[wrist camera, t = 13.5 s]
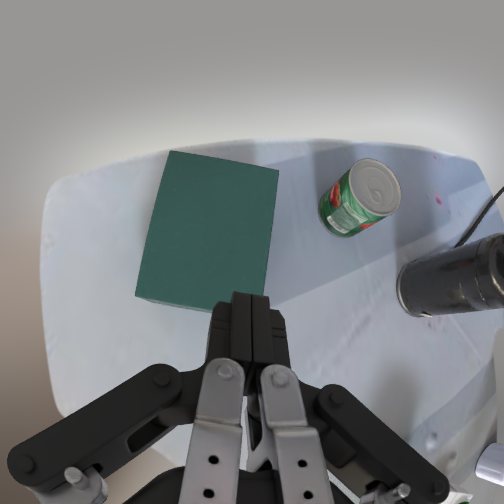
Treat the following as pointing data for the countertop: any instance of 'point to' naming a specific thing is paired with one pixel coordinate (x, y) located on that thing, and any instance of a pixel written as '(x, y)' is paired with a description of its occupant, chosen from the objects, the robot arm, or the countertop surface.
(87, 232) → the countertop surface
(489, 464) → the spray bottle
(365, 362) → the countertop surface
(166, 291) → the case lid
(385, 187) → the canned tomato
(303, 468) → the robot arm
